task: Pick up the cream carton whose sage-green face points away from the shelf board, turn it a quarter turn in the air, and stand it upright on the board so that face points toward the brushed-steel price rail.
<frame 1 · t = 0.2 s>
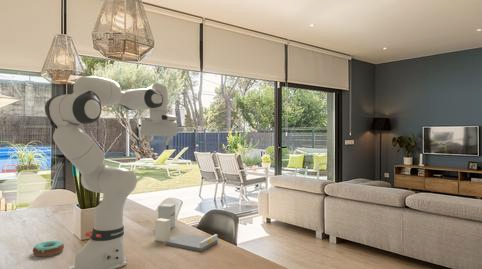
hand: (158, 145, 166), 47 cm above the table, tool pointing down, fingers open, 8 cm apart
supplement box: (166, 227, 188), on the table
carton: (162, 239, 167), on the table
donut: (48, 253, 148), on the table
shelf: (191, 243, 162), on the table
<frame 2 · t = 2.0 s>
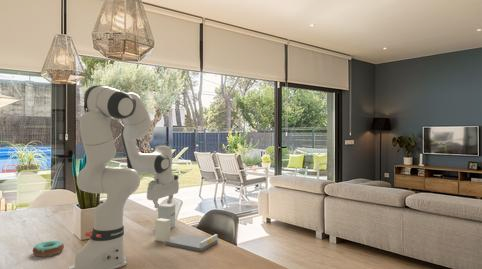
hand: (163, 205, 167), 17 cm above the table, tool pointing down, fingers open, 8 cm apart
nothing on the table moved.
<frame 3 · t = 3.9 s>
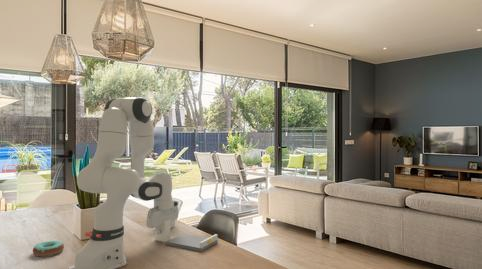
hand: (162, 232, 167), 4 cm above the table, tool pointing down, fingers closed on carton, 4 cm apart
carton: (162, 239, 167), on the table, touching gripper
everything else where it was.
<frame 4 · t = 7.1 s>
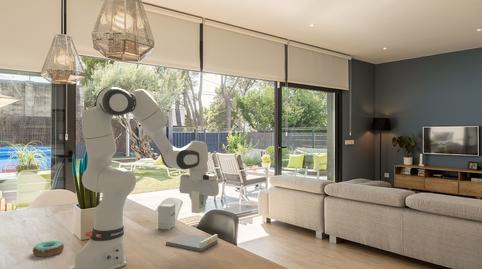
hand: (198, 203, 160), 19 cm above the table, tool pointing down, fingers closed on carton, 4 cm apart
carton: (198, 211, 160), point 16 cm above the table, touching gripper
everything else where it was.
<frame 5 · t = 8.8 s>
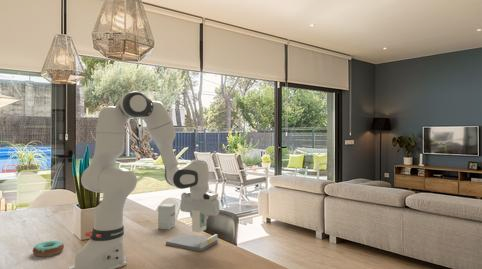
hand: (199, 222, 160), 11 cm above the table, tool pointing down, fingers closed on carton, 4 cm apart
carton: (199, 230, 160), point 7 cm above the table, touching gripper
everything else where it was.
when the fingers open (7 cm above the table, at t = 10.3 s): carton drops 1 cm, resting on shelf.
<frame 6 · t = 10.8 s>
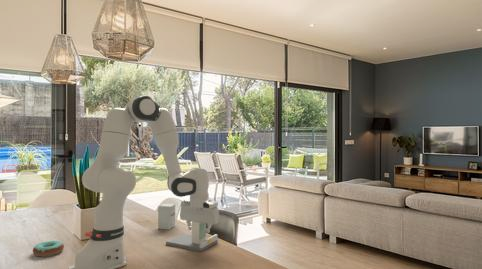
hand: (199, 231, 160), 7 cm above the table, tool pointing down, fingers open, 8 cm apart
carton: (198, 241, 160), point 1 cm above the table, touching shelf
everything else where it was.
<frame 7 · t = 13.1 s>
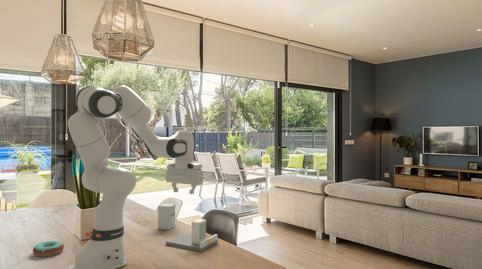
hand: (183, 192, 163), 24 cm above the table, tool pointing down, fingers open, 8 cm apart
nothing on the table moved.
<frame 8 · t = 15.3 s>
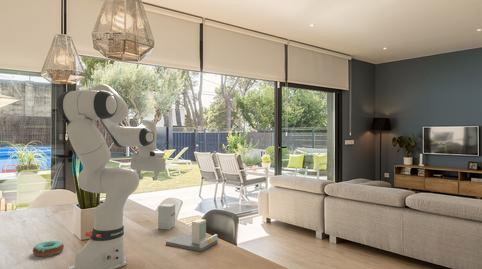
hand: (147, 179, 171), 29 cm above the table, tool pointing down, fingers open, 8 cm apart
nothing on the table moved.
at the end: carton inside the target area on the shelf (0.1 cm from its centre), point 1.5 cm above the shelf's base; carton tilted 0°; the gripper is holding nothing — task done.
